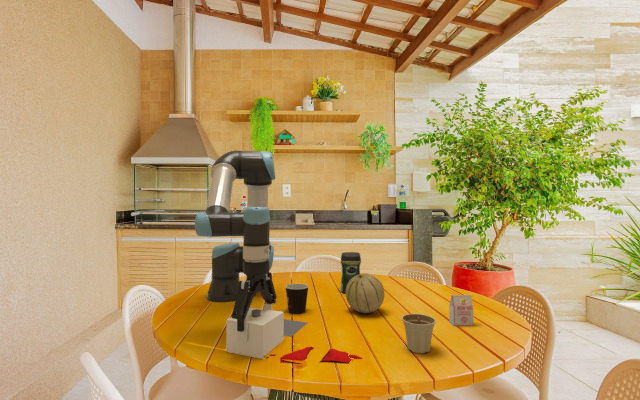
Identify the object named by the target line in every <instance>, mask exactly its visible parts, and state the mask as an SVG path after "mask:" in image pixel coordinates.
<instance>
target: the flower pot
mask: <svg viewBox="0 0 640 400" xmlns="http://www.w3.org/2000/svg"><path fill="white" fill-rule="evenodd" d="M401 320H402V321H403V325H404V330H405V331H404V332H405V338H406V345H407V349H408V350H410V351H411V352H413V353H416V354H425V353H429V352H430V351H431V344H432V338H433V332H434V331H433V330H434V327H435V324H436V323H437V321H436V318H434V317H432V316H430V315H428V314H422V313H408V314H404V315H402V316H401Z"/></svg>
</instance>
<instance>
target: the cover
mask: <svg viewBox="0 0 640 400" xmlns="http://www.w3.org/2000/svg"><path fill="white" fill-rule="evenodd" d="M284 314H285V313H284V311H279V310H273V309H272V310H265V309H264V308H256V307H251V306H250V308H249V310H248V313H247V315H246V318H248V342H247V343H240V342H237V337H238V331H237V319H233V318H232V316H231V317H229V318H227V319H226V327H225V328H226V332H225V333H226V340H225V342H226V345H225V346H226V348H225V351H226V353H231V354H236V355H240V356H245V357H251V358H255V359H260V360H264V359H265V358H266V355H268V354H269V353H270V352H271V351H273V349H275V348H277V347H278V345H279V344H281V343H282V342H283V341H284V340H285V339H284V337H285V336H284V319H285V315H284Z"/></svg>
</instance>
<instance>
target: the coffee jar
mask: <svg viewBox="0 0 640 400" xmlns="http://www.w3.org/2000/svg"><path fill="white" fill-rule="evenodd" d="M361 263H362V258H361V253H360V252H356V251H354V252H353V251H347V252H342V253H341V256H340V264H341V281H340V292H342V293H343V294H346V287H347V284H348V282H349V281H350V279H352V278H353V277H355V276H356V275H359V274H361V271H360V270H361V269H360V266H361Z"/></svg>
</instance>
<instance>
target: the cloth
mask: <svg viewBox="0 0 640 400" xmlns="http://www.w3.org/2000/svg"><path fill="white" fill-rule="evenodd" d="M314 349H315V347H313V346H305V347H304V348H301V349H297V350H295V351H292V352H290V353H289V352H288V353H285V354H284V355H282V356H281V357H280V358H279V359H280V360H279V361H280V362H279V363H281V364H294V365H302V363H300V362H302V361H305V360H307V359H308V356H309V354H311V353H310V352H311V351H313V350H314ZM348 354H350V355H349V356H348ZM270 356H271V357H272V356H273V357H276V356H277V354H276V353H275V354H274V353H273V354H272V353H271V354H269V357H268V356H267V357H266V359H269V358H270ZM349 357H350V358H354V359H350V358H349ZM351 360H352V361H353V360H363V357H361V356H359V355H356V354H351V353H348V352H347V351H341V350H338V349H336V348H329V349H328V351H327V352H326V353H325V354H324V356H323V357H322V358H321V360H320V361H319V363H321V362H323V361H324V362H334V361H337V362H336V363H346V364H349V362H350V361H351ZM296 361H298V362H296Z"/></svg>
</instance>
